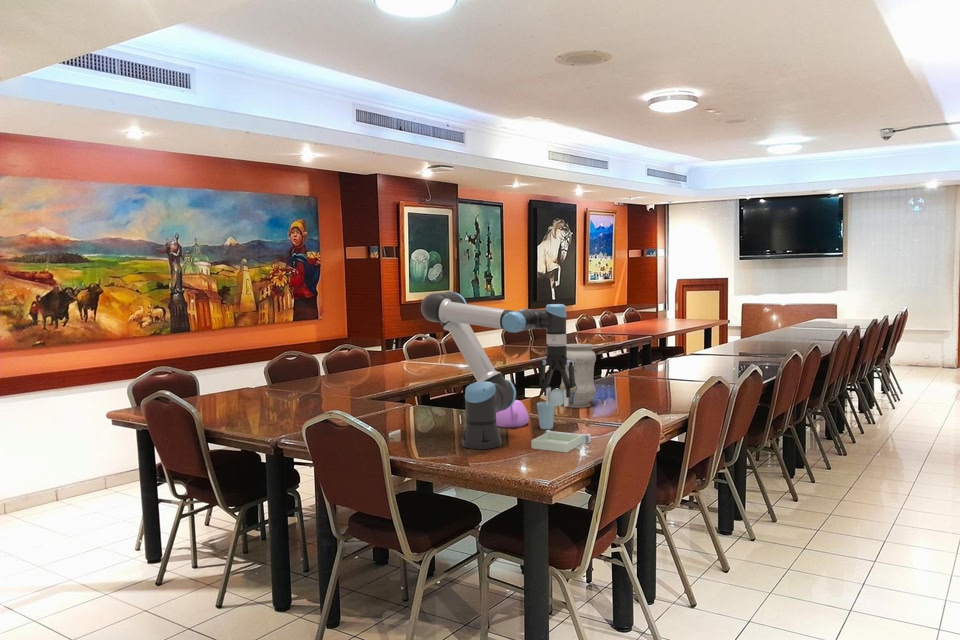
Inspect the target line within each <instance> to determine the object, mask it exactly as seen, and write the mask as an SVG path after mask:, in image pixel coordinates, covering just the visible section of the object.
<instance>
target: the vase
mask: <svg viewBox="0 0 960 640" xmlns="http://www.w3.org/2000/svg"><path fill="white" fill-rule="evenodd" d="M565 345H566V346H567V359H568V360H569V361H574V362H575V364H574V376H575V387H573V388H571V390H570V391H571V396H570V397H569V398H568V406H566V408H570V409H571V408H573V409H579V408H581V409H583V408H585V409H586V408H588V407H591V406H592V403H590V402H591V401H592V400H593V399H594V398H595V396H596V392H597V388H596V386H595V383H594V377H595V376H594V374H595V372H594V371H595V363H596V360H597V355H596V353H595V351H594V350H592V348H593V346H594V345H593V344H592V343H566V344H565ZM568 367H569V366H568V364H567V363H566V365H565V369H566V373H567V376H568V379H569V370H568ZM569 382H570V380H569ZM559 389H560V390H562V391H563V392H564V389H565V385H564V382H563V379H562V378H561V383H560V385H559Z"/></svg>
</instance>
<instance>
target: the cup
mask: <svg viewBox="0 0 960 640" xmlns="http://www.w3.org/2000/svg"><path fill="white" fill-rule="evenodd" d="M555 408H556V406H554V405H552V404H550V405H546V401H539V402H537V403H536V409H537V417H538V423H539V428H540V429H541V430H551V429H554V421H555Z"/></svg>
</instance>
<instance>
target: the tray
mask: <svg viewBox="0 0 960 640" xmlns="http://www.w3.org/2000/svg"><path fill="white" fill-rule="evenodd" d="M530 441H531V442H530V443H531V449H533V450H542V451H543V450H544V451H548V452H549V451H551V452H559V453H560V452H561V453H569V452H570V451H572V450H573V449H575V448H577V447H579V446H580V445H582V444H583V443H582V436H580V435H571V434H561V433H551V432H547V433H545V432H544V433H543V434H541V435H538V436H537V437H536V438H533V439H531V440H530Z"/></svg>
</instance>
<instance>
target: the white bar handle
mask: <svg viewBox="0 0 960 640" xmlns="http://www.w3.org/2000/svg"><path fill="white" fill-rule="evenodd" d="M547 432H551V433H561V434H571V435H580V436H582V444H589V443H591V434H590V433H587V434H584V433H583V434H582V433H581V434H580V433H573V432H561V431H554V430H551V429H546V430H545V432H544V434H545V433H547Z"/></svg>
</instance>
